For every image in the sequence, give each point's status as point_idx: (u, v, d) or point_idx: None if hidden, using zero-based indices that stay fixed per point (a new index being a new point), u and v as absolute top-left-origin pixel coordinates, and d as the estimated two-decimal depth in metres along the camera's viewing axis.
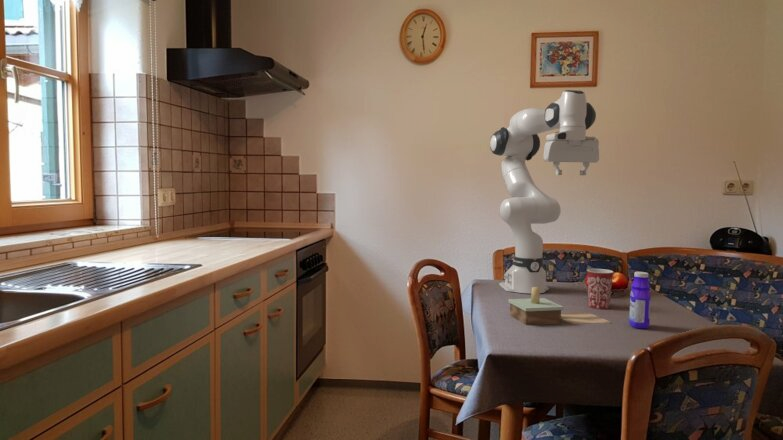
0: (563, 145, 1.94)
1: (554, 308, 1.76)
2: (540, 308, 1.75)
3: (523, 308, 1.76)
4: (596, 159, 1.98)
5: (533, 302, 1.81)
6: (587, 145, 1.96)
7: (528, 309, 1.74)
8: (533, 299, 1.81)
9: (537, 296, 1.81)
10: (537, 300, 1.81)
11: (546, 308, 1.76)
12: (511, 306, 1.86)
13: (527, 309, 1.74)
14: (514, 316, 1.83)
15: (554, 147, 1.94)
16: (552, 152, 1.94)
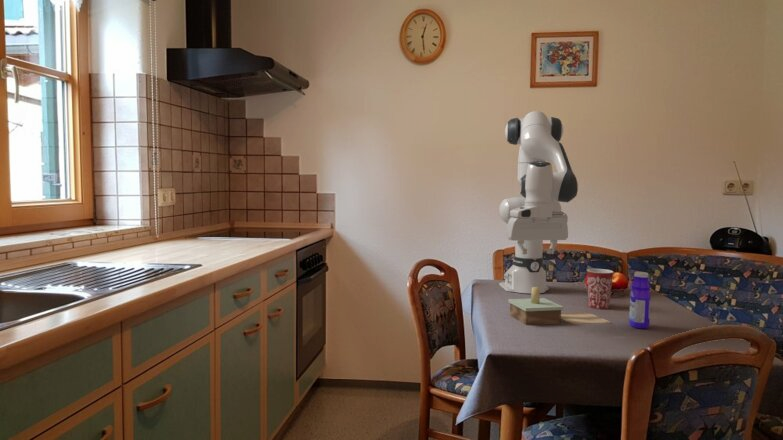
0: (528, 222, 1.77)
1: (554, 308, 1.76)
2: (540, 308, 1.75)
3: (523, 308, 1.76)
4: (565, 236, 1.80)
5: (533, 302, 1.81)
6: (554, 221, 1.79)
7: (528, 309, 1.74)
8: (533, 299, 1.81)
9: (537, 296, 1.81)
10: (537, 300, 1.81)
11: (546, 308, 1.76)
12: (511, 306, 1.86)
13: (527, 309, 1.74)
14: (514, 316, 1.83)
15: (518, 225, 1.76)
16: (515, 231, 1.76)
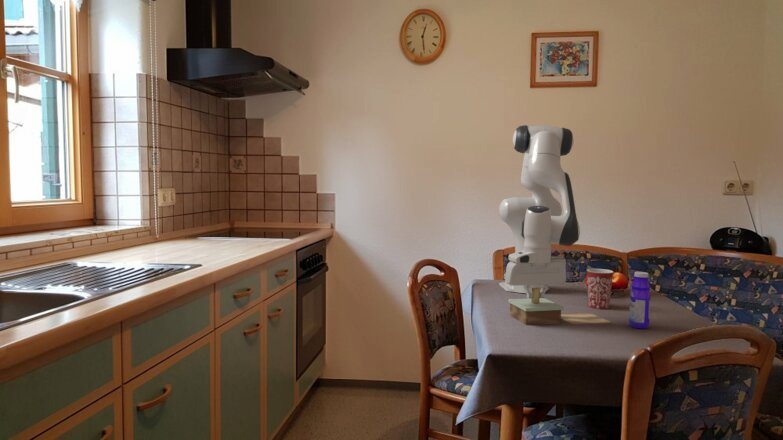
0: (526, 267, 1.78)
1: (554, 308, 1.76)
2: (540, 308, 1.75)
3: (523, 308, 1.76)
4: (563, 281, 1.81)
5: (533, 302, 1.81)
6: (552, 266, 1.80)
7: (528, 309, 1.74)
8: (533, 299, 1.81)
9: (537, 296, 1.81)
10: (537, 300, 1.81)
11: (546, 308, 1.76)
12: (511, 306, 1.86)
13: (527, 309, 1.74)
14: (514, 316, 1.83)
15: (517, 270, 1.78)
16: (514, 276, 1.78)
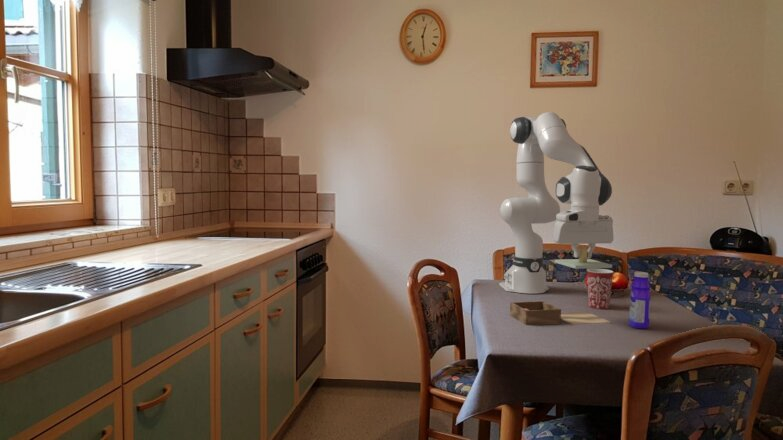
0: (575, 226, 1.80)
1: (603, 266, 1.78)
2: (589, 266, 1.77)
3: (572, 266, 1.77)
4: (610, 240, 1.83)
5: (581, 261, 1.82)
6: (600, 225, 1.82)
7: (578, 266, 1.76)
8: (581, 258, 1.82)
9: (585, 255, 1.82)
10: (585, 259, 1.82)
11: (595, 266, 1.77)
12: (511, 306, 1.86)
13: (577, 266, 1.76)
14: (514, 316, 1.83)
15: (565, 228, 1.79)
16: (563, 234, 1.79)
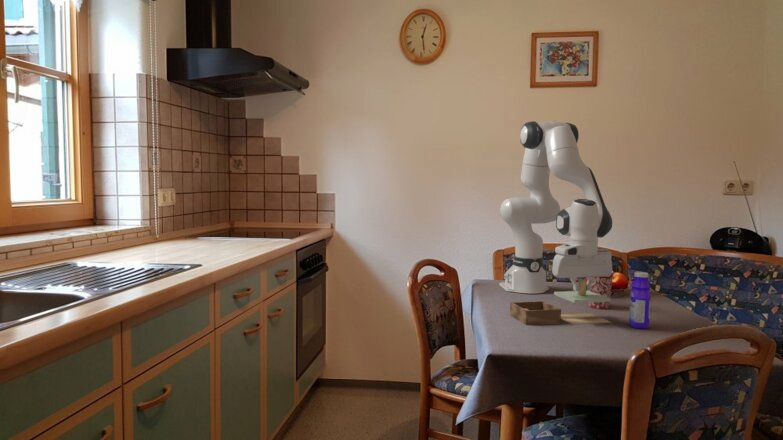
0: (574, 260, 1.80)
1: (602, 300, 1.78)
2: (588, 300, 1.77)
3: (571, 300, 1.78)
4: (609, 273, 1.84)
5: (580, 294, 1.83)
6: (599, 258, 1.82)
7: (577, 301, 1.76)
8: (580, 291, 1.83)
9: (584, 288, 1.83)
10: (584, 292, 1.83)
11: (594, 300, 1.78)
12: (511, 306, 1.86)
13: (576, 301, 1.76)
14: (514, 316, 1.83)
15: (564, 262, 1.80)
16: (562, 268, 1.80)
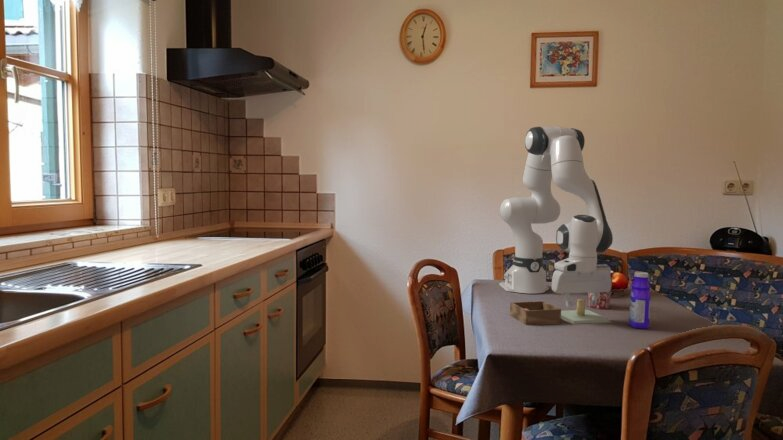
0: (573, 276, 1.81)
1: (600, 320, 1.79)
2: (587, 320, 1.78)
3: (570, 320, 1.79)
4: (608, 289, 1.84)
5: (579, 314, 1.84)
6: (598, 274, 1.83)
7: (575, 321, 1.77)
8: (579, 311, 1.84)
9: (583, 308, 1.83)
10: (583, 312, 1.83)
11: (593, 320, 1.79)
12: (511, 306, 1.86)
13: (574, 321, 1.77)
14: (514, 316, 1.83)
15: (563, 278, 1.80)
16: (561, 284, 1.80)
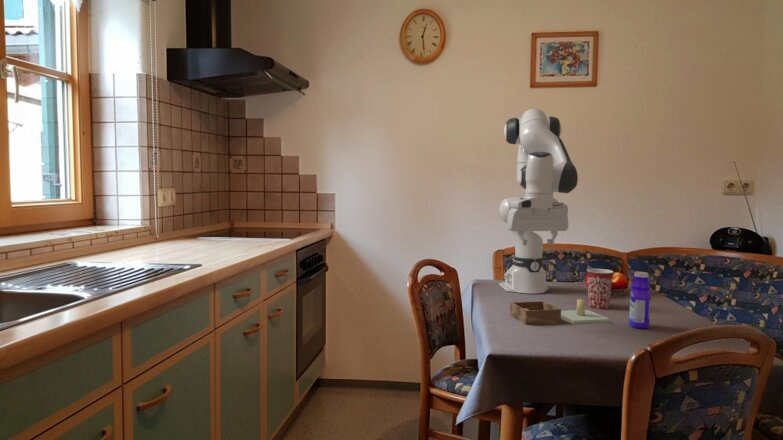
0: (528, 213, 1.77)
1: (600, 320, 1.79)
2: (587, 320, 1.78)
3: (570, 320, 1.79)
4: (565, 227, 1.80)
5: (579, 314, 1.84)
6: (554, 212, 1.79)
7: (575, 321, 1.77)
8: (579, 311, 1.84)
9: (583, 308, 1.83)
10: (583, 312, 1.83)
11: (593, 320, 1.79)
12: (511, 306, 1.86)
13: (574, 321, 1.77)
14: (514, 316, 1.83)
15: (518, 215, 1.76)
16: (516, 221, 1.76)
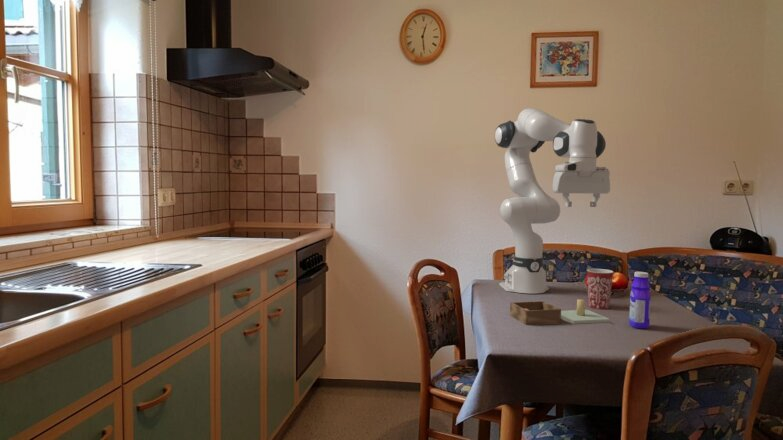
0: (573, 176, 1.88)
1: (600, 320, 1.79)
2: (587, 320, 1.78)
3: (570, 320, 1.79)
4: (607, 190, 1.91)
5: (579, 314, 1.84)
6: (597, 176, 1.90)
7: (575, 321, 1.77)
8: (579, 311, 1.84)
9: (583, 308, 1.83)
10: (583, 312, 1.83)
11: (593, 320, 1.79)
12: (511, 306, 1.86)
13: (574, 321, 1.77)
14: (514, 316, 1.83)
15: (564, 178, 1.87)
16: (562, 184, 1.87)
